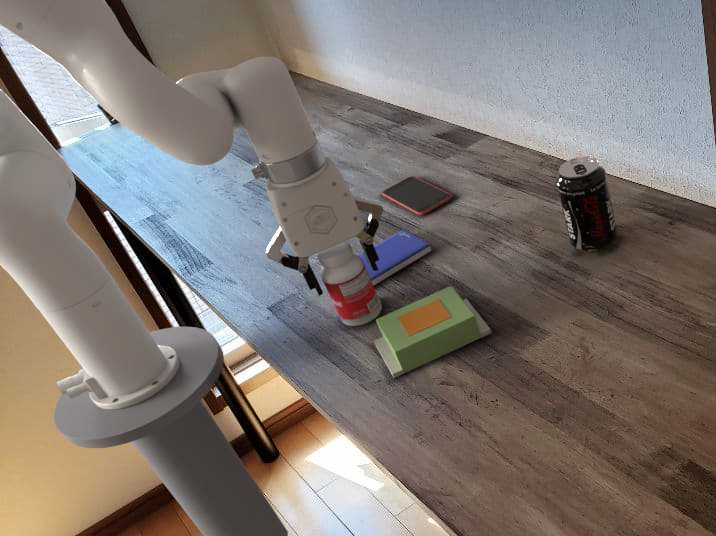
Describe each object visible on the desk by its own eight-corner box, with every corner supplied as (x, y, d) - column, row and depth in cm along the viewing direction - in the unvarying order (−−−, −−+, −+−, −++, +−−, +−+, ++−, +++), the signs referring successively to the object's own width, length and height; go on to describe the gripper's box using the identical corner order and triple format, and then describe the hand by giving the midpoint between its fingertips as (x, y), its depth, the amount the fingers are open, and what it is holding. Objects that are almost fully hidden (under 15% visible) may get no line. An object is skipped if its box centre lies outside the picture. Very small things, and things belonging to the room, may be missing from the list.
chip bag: (394, 378, 107) (384, 356, 105) (375, 344, 114) (365, 323, 112) (491, 333, 110) (484, 310, 107) (467, 302, 116) (460, 280, 114)
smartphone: (419, 214, 138) (379, 192, 147) (420, 217, 138) (380, 195, 148) (453, 194, 140) (412, 174, 150) (454, 198, 141) (413, 177, 150)
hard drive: (401, 228, 134) (336, 266, 129) (428, 243, 128) (361, 283, 124) (405, 236, 135) (340, 275, 130) (432, 251, 129) (365, 292, 125)
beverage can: (578, 261, 118) (560, 184, 110) (566, 239, 123) (548, 164, 115) (624, 246, 118) (610, 168, 110) (610, 224, 123) (595, 149, 115)
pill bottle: (339, 311, 122) (308, 247, 115) (378, 296, 123) (351, 231, 116) (345, 333, 118) (314, 267, 110) (386, 317, 118) (358, 251, 111)
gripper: (232, 200, 100) (293, 317, 112) (366, 145, 104) (411, 264, 115) (223, 179, 106) (282, 292, 117) (351, 127, 109) (396, 243, 121)
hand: (346, 278), depth 116 cm, fingers open, 7 cm apart
